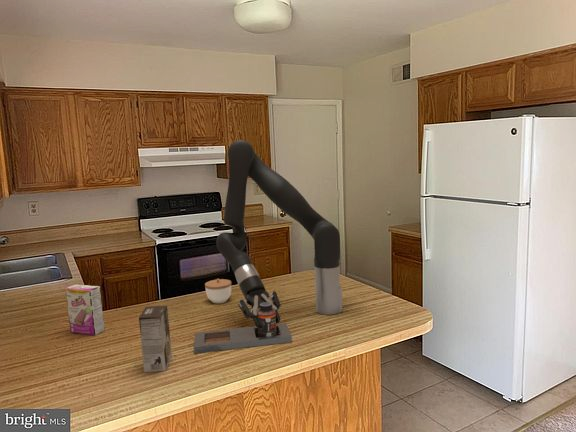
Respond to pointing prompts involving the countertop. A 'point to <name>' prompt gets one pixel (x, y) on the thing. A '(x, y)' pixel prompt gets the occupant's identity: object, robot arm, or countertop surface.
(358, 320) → the countertop surface
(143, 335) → the coffee box
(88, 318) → the candy bar box
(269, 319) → the supplement bottle
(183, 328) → the countertop surface
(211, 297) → the lidded jar
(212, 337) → the plate with square holes
